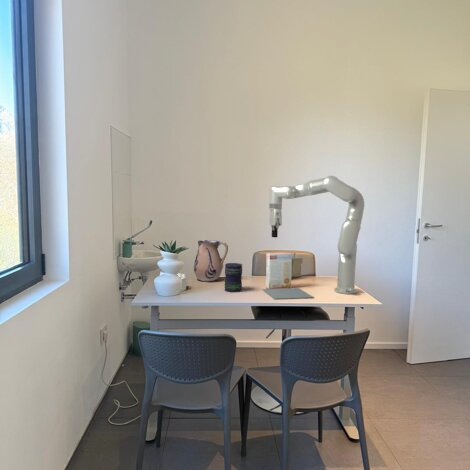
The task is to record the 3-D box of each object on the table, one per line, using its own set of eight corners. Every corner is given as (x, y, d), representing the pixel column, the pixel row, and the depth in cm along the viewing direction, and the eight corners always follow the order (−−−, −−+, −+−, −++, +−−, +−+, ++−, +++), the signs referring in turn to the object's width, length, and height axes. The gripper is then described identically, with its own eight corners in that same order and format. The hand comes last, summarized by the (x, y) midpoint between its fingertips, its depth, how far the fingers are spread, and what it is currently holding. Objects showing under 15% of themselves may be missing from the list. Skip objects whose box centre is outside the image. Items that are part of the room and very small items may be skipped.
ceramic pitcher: (194, 277, 269) (195, 239, 266) (227, 277, 270) (227, 239, 267) (192, 282, 251) (193, 242, 249) (227, 283, 252) (228, 242, 250)
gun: (283, 281, 261) (285, 258, 261) (278, 281, 263) (280, 257, 263) (301, 279, 281) (303, 257, 281) (297, 278, 283) (298, 257, 283)
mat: (313, 298, 221) (313, 297, 221) (274, 299, 216) (274, 298, 216) (298, 288, 242) (298, 287, 242) (262, 290, 237) (262, 288, 237)
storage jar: (228, 287, 241) (229, 257, 239) (244, 289, 237) (245, 258, 235) (221, 291, 231) (222, 259, 230) (238, 293, 228) (238, 260, 226)
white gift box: (185, 286, 241) (186, 272, 240) (186, 291, 228) (186, 276, 227) (167, 286, 240) (168, 272, 239) (167, 292, 227) (167, 276, 226)
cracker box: (287, 286, 248) (288, 252, 246) (291, 288, 242) (292, 253, 240) (265, 287, 244) (266, 252, 242) (268, 289, 239) (270, 253, 237)
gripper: (285, 207, 242) (284, 238, 244) (277, 206, 257) (276, 236, 259) (273, 207, 241) (272, 238, 242) (265, 206, 255) (264, 235, 257)
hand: (274, 237), depth 250 cm, fingers closed
